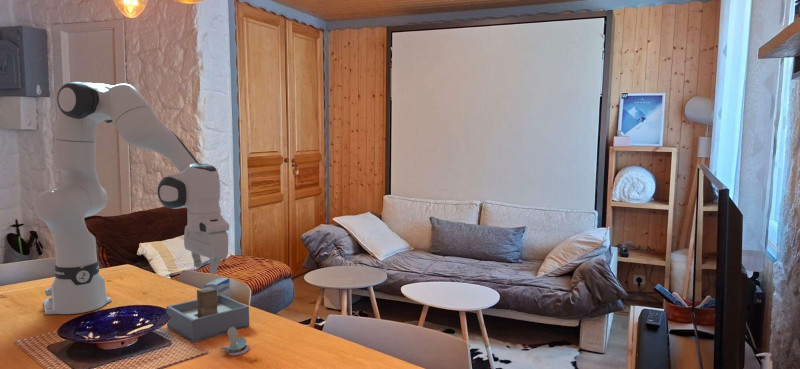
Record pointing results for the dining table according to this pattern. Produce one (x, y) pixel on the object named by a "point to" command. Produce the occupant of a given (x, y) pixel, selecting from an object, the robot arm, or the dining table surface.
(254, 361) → the dining table surface
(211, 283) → the medicine box
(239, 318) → the bin
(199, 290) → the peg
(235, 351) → the pacifier
